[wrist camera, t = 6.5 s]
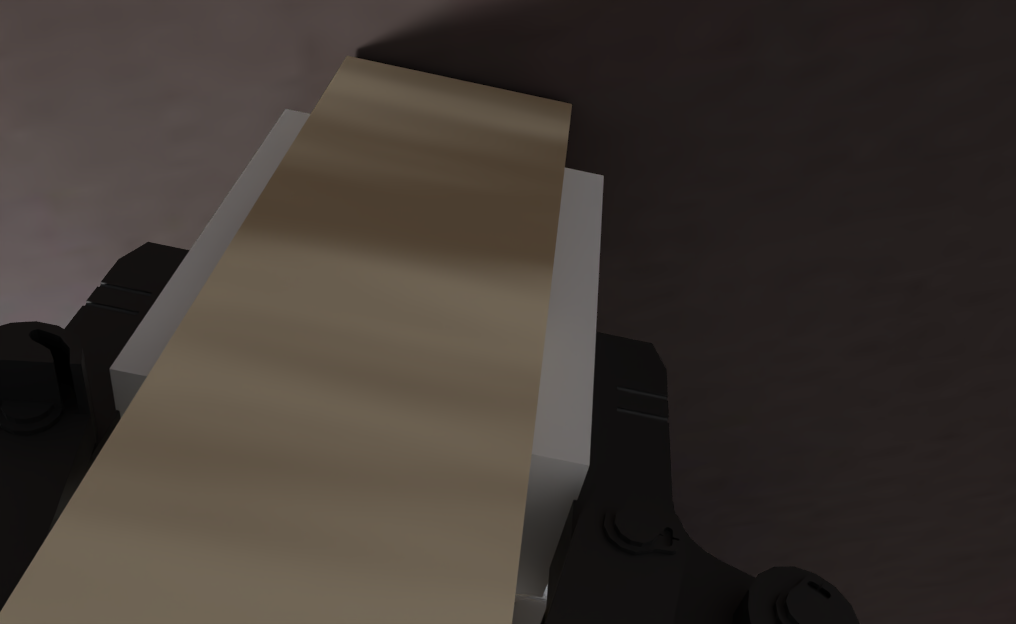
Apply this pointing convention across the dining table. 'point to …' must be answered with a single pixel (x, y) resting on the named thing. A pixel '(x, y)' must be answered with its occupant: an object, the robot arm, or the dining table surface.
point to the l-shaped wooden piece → (339, 384)
